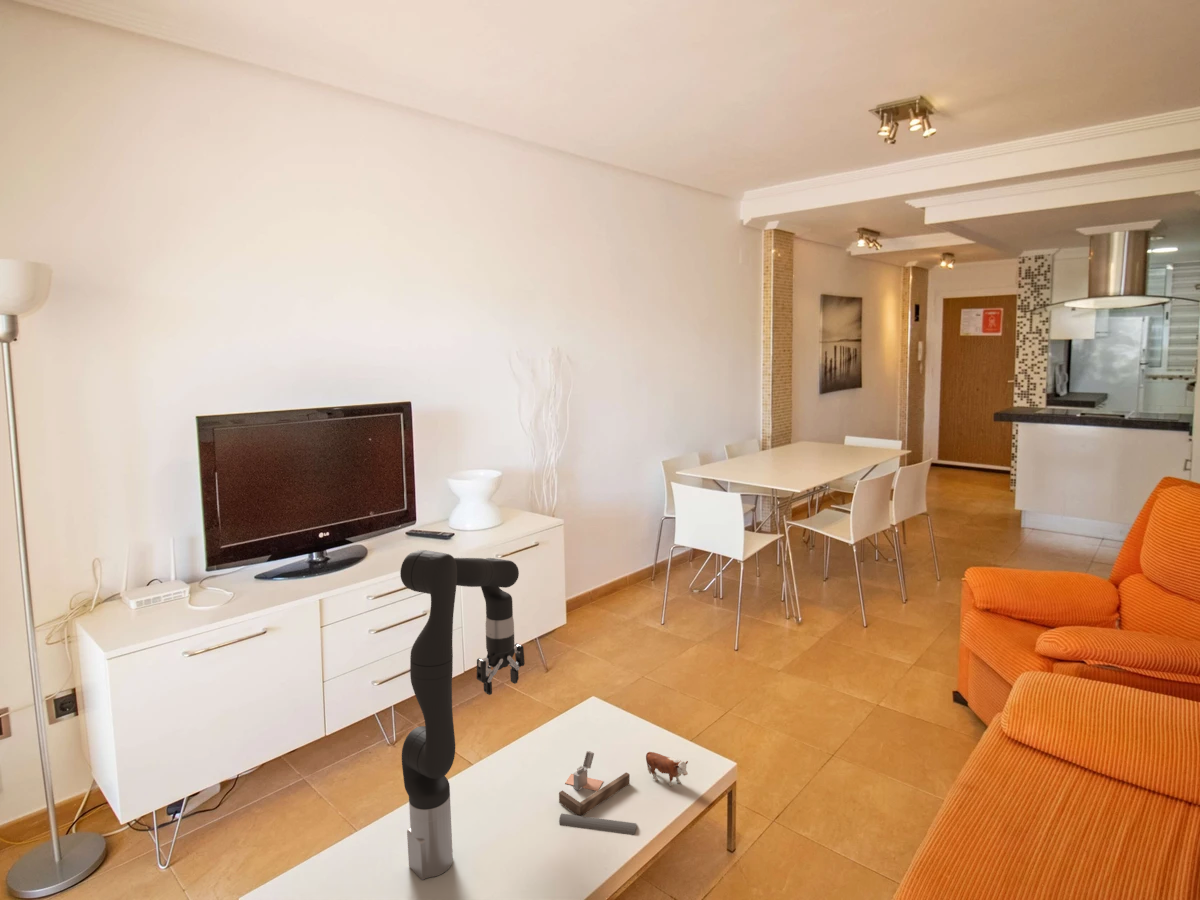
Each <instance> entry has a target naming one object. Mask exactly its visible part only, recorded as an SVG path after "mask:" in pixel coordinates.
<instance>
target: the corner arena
mask: <svg viewBox="0 0 1200 900" xmlns="http://www.w3.org/2000/svg"><path fill="white" fill-rule="evenodd" d="M629 785H630V773H628V772H624V773H623V774H621V775H620V776H619V777H616V778H615V779H613V780H612V781H611V782H609V783H608V784H606V785H604V786H603V787H600V788H599V790H598V791H594V793H592V794H590V795H589V796H588V797H587V798H584V799H583V800H582V801H578V800H577V799H576V798H574V797H573V796H571V795H569V794H568V793H567V792H565V790H561V791H559V793H558V803H559V804H560V805H562V806H563V807H565V808H566V809H567V810H569V811H570V812H571V813H573V815H577V816H585V814H587V813H589V812H590V811H592V810H593V809H595V808H596V807H598V806H599V805H601V804H602V803H604V802H605V801H606V800H608V799H609V798H610V797H612V796H614V795H616V794H617V793H619V791H621V790H623V789H625V788H626V787H627V786H629Z"/></svg>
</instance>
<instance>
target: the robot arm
mask: <svg viewBox="0 0 1200 900" xmlns="http://www.w3.org/2000/svg"><path fill="white" fill-rule="evenodd" d="M399 573H400V580H401V582H402V584H403V586H404V587H406V588H407V589H408V590H411V591H413V592H417V593H423V594H428V595H430V611H429V617H428V619H427V622H426V624H425V625H424V627H423V629H422V630H421V631H420V632H419V634H418V636H417V638H416V639H415V641H414V643H413V645H412V647H411V650H410V655H409V658H410V665H409V666H410V668H409V673H410V682H411V687H412V690H413V692H414V695H415V697H416V701H417V703H418V705H419V708H420V710H421V713H422V715H423V718H424V719H423V720H424V724H425V725H421V726H417V727H415V728H413V729H412V730H411V731H410V732H409V733H408V734H407V736H406V737H405V739H404V742H403V745H402V750H401V765H402V766H401V769H402V776H403V786H404V789H405V791H406V794H407V795H408V804H409V805H408V809H409V824H410V827H409V829H407V830H406V835H407V836H406V837H407V854H408V867H409V868H410V869H411V870H412V871H413V872H414V873H415V874H416V876H418V878H420V880H422V881H423V880H425V879H427V878H435V877H438V876H440V875H442V874H443V873H445V872H447V871H448V870H449V868H450V867H451V866H452V864H453V860H454V858H453V853H454V850H453V833H452V813H451V812H452V810H451V807H452V806H451V790H450V789H451V788H450V782H449V780H448V778H447V776H446V775H448V773H449V772H450V769H451V768H452V766H453V764H454V761H455V755H456V737H455V735H456V734H455V726H454V717H453V716H454V714H453V672H454V671H453V658H454V657H453V654H454V652H453V633H454V632H453V631H454V630H453V629H454V610H455V601H456V593H457V591H456V590H457V586H458V587H459V586H460V587H469V588H473V587H474V588H476V587H477V588H479V587H480V589H481V591H482V595H483V597H484V598H483V599H484V600H485V646H486V647H485V648H486V651H487V655H486V657H483V658H480V657H478V658H477V659H476V679H477V680H478V681H479V682H481V683H483V692H484V693H485V694H487V695H488V696H490V695H492V694H493V683H492V682H493V681H492V680H493V678H494V676H495V675H496V674H497V672H498V671H500V670H502V669H503V668H507V667H510V668H509V671H510V673H509V674H510V682H511V683H512V684H514V685H515V684H517V683H518V680H519V670H520V668H521V667H524V666H525V664H526V663H525V650H524V646H523V645H521V644H519V643H517V642H516V643H515V621H514V612H513V610H514V609H513V607H514V606H513V605H514V604H513V596H512V595H511V594H510V593H509V592H506V591H504V589H503V590H502V589H501V588H509V587H512V586H514V585H515V584H516V582H517V581H518V579H519V575H520V574H519V573H520V571H519V567H518V565H517V564H516V563H515V562H514V561H512V560H509V559H501V558H494V557H493V558H492V557H486V558H482V557H481V558H480V557H478V558H477V557H454V556H453V555H451V554H449V553H445V552H441V551H440V552H438V551H435V550H434V551H432V550H426V549H417V550H414V551H411V552H410V553H409V554H408V555H406V557H405V558H404V560H403V561H402V564H401V567H400V571H399ZM514 656H515V659H513V657H514ZM492 668H493V669H492Z"/></svg>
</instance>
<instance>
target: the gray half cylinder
mask: <svg viewBox="0 0 1200 900" xmlns="http://www.w3.org/2000/svg"><path fill="white" fill-rule="evenodd" d="M558 822H559V823H558V824H559V826H563V827H570V828H577V829H585V830H592V831H593V830H594V831H599V832H600V831H601V832H608V833H615V834H621V835H622V834H623V835H631V836H634V835H635V832H636V827H637V823H636V822H629V821H623V820H622V821H621V820H614V819H605V818H599V817H591V816H585V815H583V816H577V815H576V814H570V813H569V814H568V813H563V812H562V813H561V814H560V815H559V821H558Z"/></svg>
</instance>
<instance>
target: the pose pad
mask: <svg viewBox="0 0 1200 900" xmlns="http://www.w3.org/2000/svg"><path fill="white" fill-rule="evenodd" d="M603 783H604V781H603V780H600V779H596V778H591V777H589V776H587V784H586V785H585V786H583V787H582V788H583V789H585V790H590V791H594V792H597V791H598V790H600V789H601V787H602V785H603ZM565 785H569V786H573V787H574V773H570V775H569V776H568V778H567V779H566V781H565ZM582 788H581V789H582Z"/></svg>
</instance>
